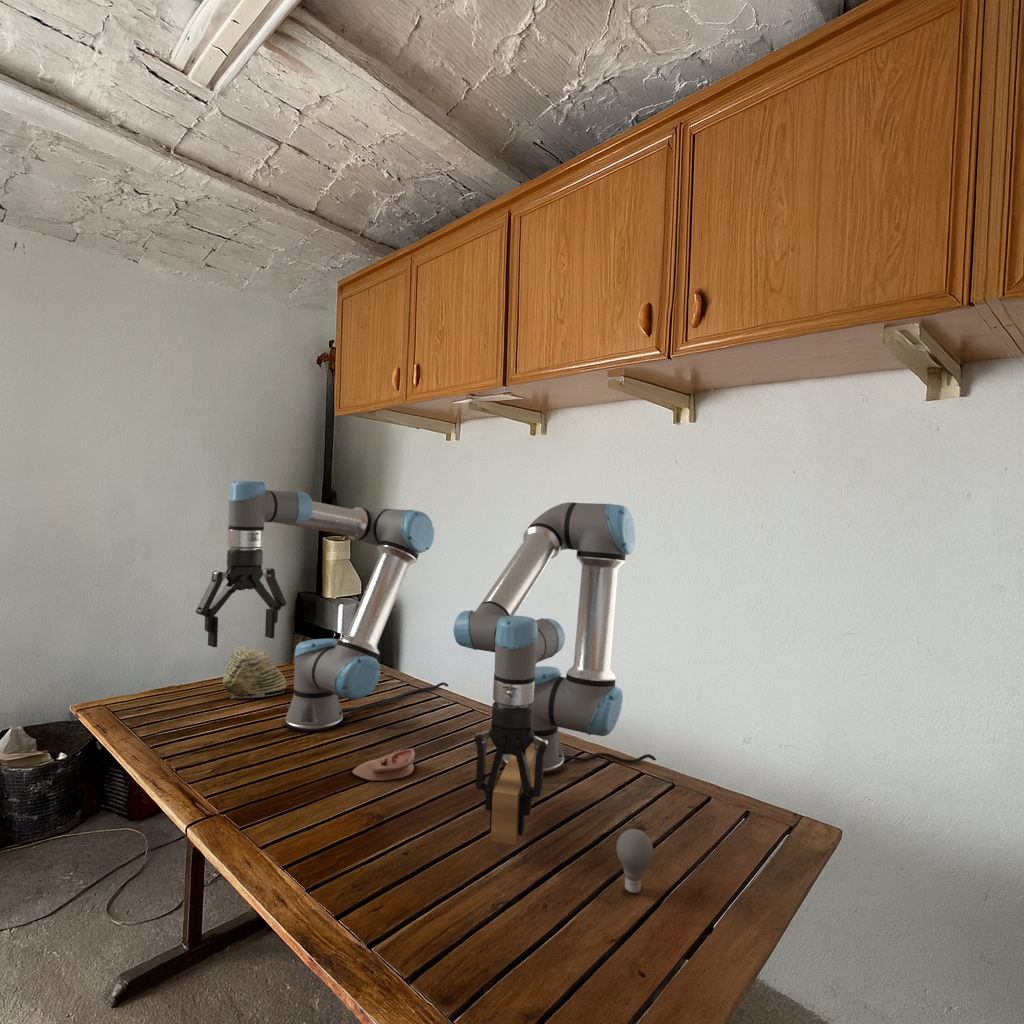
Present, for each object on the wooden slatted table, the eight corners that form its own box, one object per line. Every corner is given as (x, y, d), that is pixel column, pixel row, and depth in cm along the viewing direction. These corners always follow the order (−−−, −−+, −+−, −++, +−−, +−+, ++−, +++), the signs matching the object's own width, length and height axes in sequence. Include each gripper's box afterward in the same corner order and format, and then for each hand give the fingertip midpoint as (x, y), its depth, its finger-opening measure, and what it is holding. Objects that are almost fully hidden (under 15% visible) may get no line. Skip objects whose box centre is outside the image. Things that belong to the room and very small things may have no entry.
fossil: (218, 695, 195) (220, 647, 195) (278, 685, 208) (279, 640, 207) (228, 703, 189) (230, 653, 188) (289, 692, 201) (290, 645, 201)
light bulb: (610, 879, 108) (613, 822, 108) (644, 879, 109) (647, 822, 109) (619, 902, 102) (622, 840, 102) (655, 901, 103) (658, 840, 103)
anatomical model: (346, 759, 143) (368, 741, 154) (346, 777, 143) (367, 757, 154) (402, 767, 140) (420, 748, 152) (401, 785, 140) (419, 764, 152)
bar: (515, 783, 137) (517, 741, 136) (536, 785, 136) (538, 744, 136) (490, 841, 112) (492, 791, 112) (515, 845, 112) (517, 794, 111)
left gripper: (197, 551, 132) (194, 653, 132) (303, 548, 151) (299, 636, 152) (181, 549, 136) (177, 646, 137) (285, 545, 156) (282, 631, 156)
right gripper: (461, 703, 113) (455, 833, 114) (558, 714, 110) (552, 847, 110) (471, 691, 121) (465, 813, 121) (563, 701, 117) (557, 826, 118)
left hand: (242, 641), depth 144 cm, fingers open, 13 cm apart
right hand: (507, 829), depth 116 cm, fingers closed on bar, 4 cm apart
